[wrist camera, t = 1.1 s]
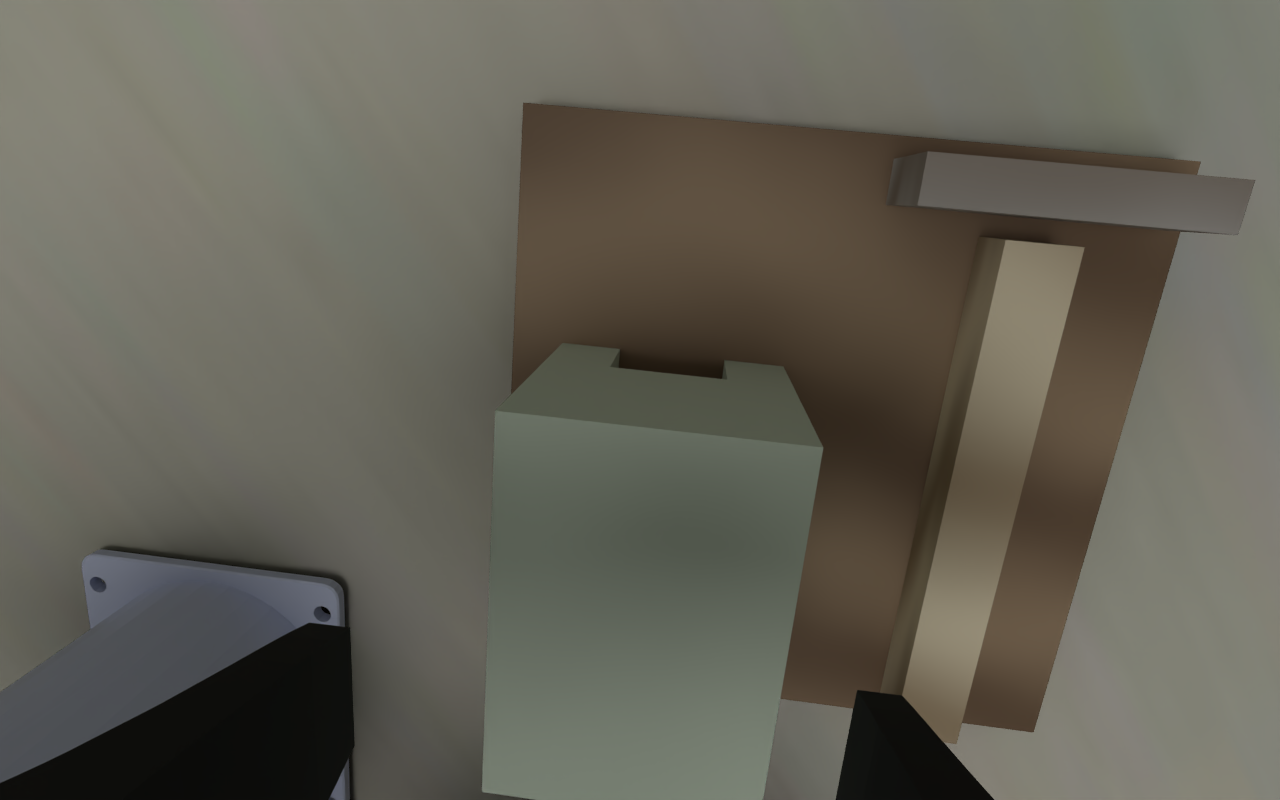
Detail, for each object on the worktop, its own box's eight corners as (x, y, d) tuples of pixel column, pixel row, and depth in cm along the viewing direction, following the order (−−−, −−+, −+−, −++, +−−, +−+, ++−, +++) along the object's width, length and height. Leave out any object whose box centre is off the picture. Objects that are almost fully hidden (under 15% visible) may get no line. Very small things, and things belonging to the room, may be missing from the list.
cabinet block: (741, 646, 20) (757, 832, 14) (545, 621, 20) (481, 792, 14) (783, 366, 17) (823, 448, 12) (562, 343, 18) (495, 410, 12)
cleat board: (1018, 707, 20) (1079, 806, 17) (509, 641, 21) (473, 722, 18) (1171, 164, 16) (1292, 154, 13) (533, 108, 17) (492, 85, 14)
